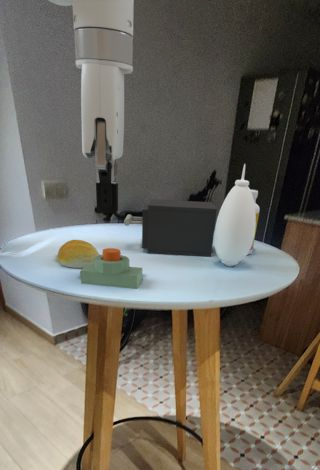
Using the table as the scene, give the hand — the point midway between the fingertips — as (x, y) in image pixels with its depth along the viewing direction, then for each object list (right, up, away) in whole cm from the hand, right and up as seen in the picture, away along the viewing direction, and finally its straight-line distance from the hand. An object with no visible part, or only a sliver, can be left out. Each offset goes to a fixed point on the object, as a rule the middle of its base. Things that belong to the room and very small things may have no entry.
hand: (107, 211), depth 59 cm
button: (0, -6, +4) cm, 8 cm away
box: (0, -9, +6) cm, 11 cm away
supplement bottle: (+27, +6, +28) cm, 40 cm away
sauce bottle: (+23, -1, +19) cm, 30 cm away
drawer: (+9, +7, +27) cm, 30 cm away
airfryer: (+13, +6, +28) cm, 32 cm away
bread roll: (-8, -2, +15) cm, 18 cm away
